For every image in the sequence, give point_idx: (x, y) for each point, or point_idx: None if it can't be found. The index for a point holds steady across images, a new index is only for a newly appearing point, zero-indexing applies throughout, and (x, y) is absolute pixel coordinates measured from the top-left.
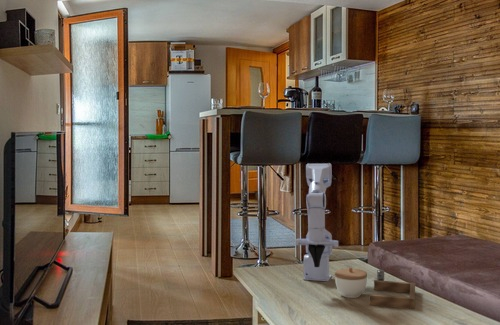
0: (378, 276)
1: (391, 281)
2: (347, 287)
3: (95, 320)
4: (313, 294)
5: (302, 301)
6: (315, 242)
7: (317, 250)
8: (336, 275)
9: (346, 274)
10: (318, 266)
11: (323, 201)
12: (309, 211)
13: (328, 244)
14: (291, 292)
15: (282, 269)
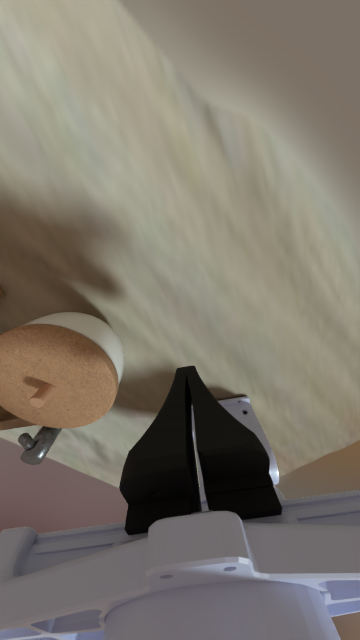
0: (43, 436)
1: (13, 427)
2: (55, 314)
3: None
4: (184, 303)
5: (190, 220)
6: (175, 567)
7: (171, 444)
8: (88, 342)
9: (39, 350)
10: (176, 370)
11: None
12: None
13: (86, 554)
14: (250, 293)
15: (312, 438)
